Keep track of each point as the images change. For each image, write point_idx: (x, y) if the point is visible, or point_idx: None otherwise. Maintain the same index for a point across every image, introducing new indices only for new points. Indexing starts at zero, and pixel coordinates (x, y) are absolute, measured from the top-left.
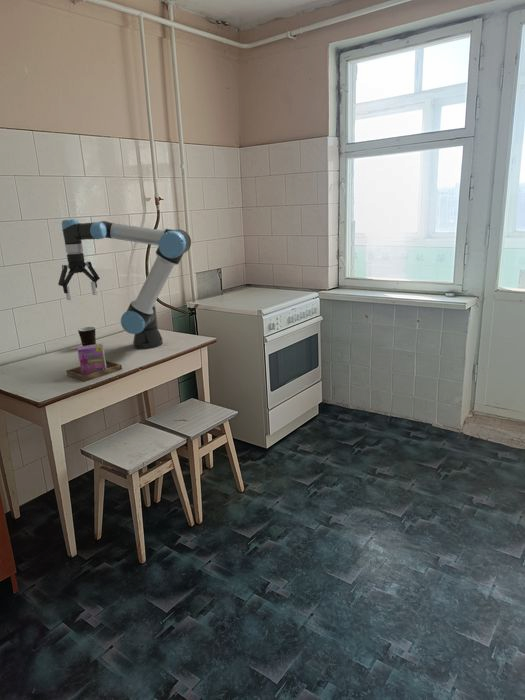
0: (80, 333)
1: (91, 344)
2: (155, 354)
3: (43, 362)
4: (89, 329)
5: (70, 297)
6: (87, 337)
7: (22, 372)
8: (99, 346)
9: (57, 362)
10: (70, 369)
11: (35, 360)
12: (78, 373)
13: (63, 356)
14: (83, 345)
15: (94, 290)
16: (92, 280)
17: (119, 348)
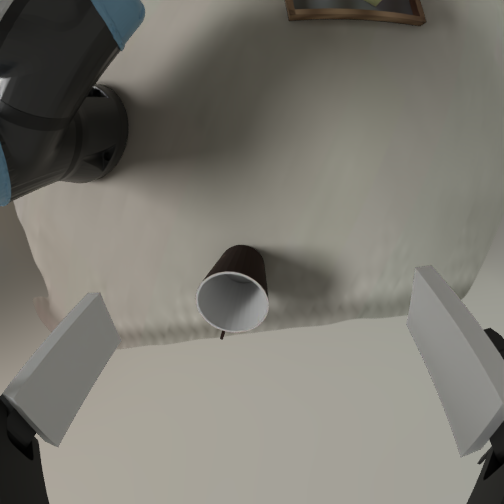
0: (266, 290)
1: (239, 249)
2: None
3: (421, 220)
4: (215, 316)
5: (429, 283)
6: (247, 263)
7: (486, 175)
8: None
9: (397, 178)
10: (414, 18)
11: (422, 262)
12: (392, 3)
13: (354, 231)
14: (264, 267)
15: (75, 329)
16: (29, 442)
17: (168, 161)
